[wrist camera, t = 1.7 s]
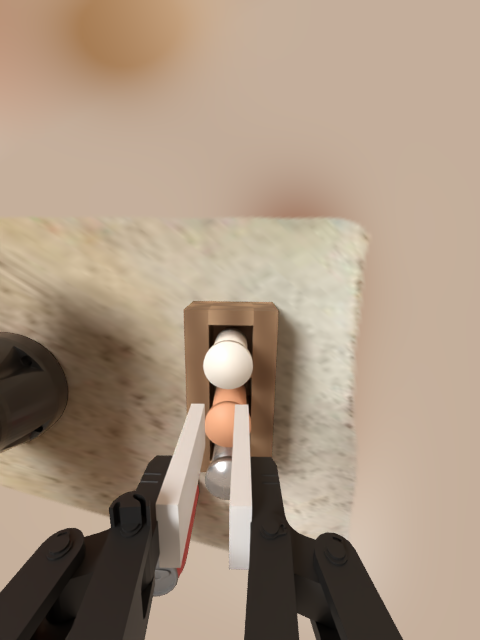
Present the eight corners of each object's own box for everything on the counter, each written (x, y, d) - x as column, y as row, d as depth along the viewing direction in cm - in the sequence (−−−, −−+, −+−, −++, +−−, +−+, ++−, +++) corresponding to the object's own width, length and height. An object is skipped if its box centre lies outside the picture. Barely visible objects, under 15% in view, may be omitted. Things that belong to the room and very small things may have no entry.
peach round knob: (212, 408, 33) (204, 446, 26) (212, 374, 32) (203, 404, 25) (249, 409, 33) (250, 447, 26) (249, 375, 32) (251, 405, 25)
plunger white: (211, 361, 32) (203, 388, 25) (211, 324, 31) (202, 342, 24) (250, 362, 31) (252, 389, 25) (251, 324, 31) (253, 343, 24)
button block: (196, 439, 39) (188, 471, 33) (193, 301, 35) (183, 309, 29) (266, 441, 39) (271, 473, 33) (272, 302, 35) (278, 311, 29)
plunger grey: (212, 452, 34) (205, 499, 27) (212, 420, 33) (204, 461, 27) (248, 453, 34) (249, 500, 27) (248, 421, 33) (250, 462, 26)
